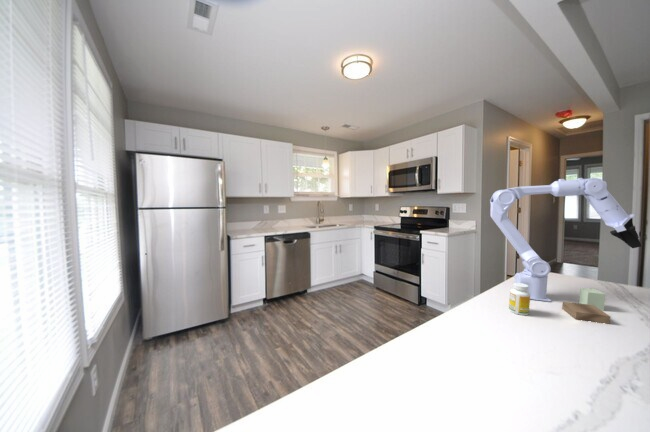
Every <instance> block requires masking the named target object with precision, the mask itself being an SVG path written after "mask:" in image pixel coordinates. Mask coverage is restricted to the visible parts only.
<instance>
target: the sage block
mask: <svg viewBox="0 0 650 432" xmlns="http://www.w3.org/2000/svg"><path fill="white" fill-rule="evenodd" d="M579 291H580V292H579V300H578V301H579V302H578V303H579V304H587V305H594V306H595V307H597V308H598V309H600V310H601V311H603V312H604V311H605V303H606V293H604V292H603V291H600V290H598V289H595V288H594V289H593V288H588V287H587V288H585V287H580V289H579Z"/></svg>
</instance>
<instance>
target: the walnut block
mask: <svg viewBox="0 0 650 432" xmlns="http://www.w3.org/2000/svg"><path fill="white" fill-rule="evenodd" d="M561 304H562V305H561V306H562V307H561V310H563V311H564V312H565V313H566V314H568V315H569V316H570V317H572V318H573V320H575V321H581V320H582V322H588V321H591V322H590V323H596V322H597V324H603V323H605V324H604V325H610V324H611V315H609V314H607V313H606V312H604V311H601V310H600V309H598V308H597V307H595V306H594V305H587V304H579V302H578V303H577V302H570V301H562V303H561Z"/></svg>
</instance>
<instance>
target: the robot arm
mask: <svg viewBox="0 0 650 432" xmlns="http://www.w3.org/2000/svg"><path fill="white" fill-rule="evenodd" d="M607 187H608V184H607V181H605V180H602V179H601V178H597V177H592V178H583V177H578V178H576V179H567V180H566V179H565V178H559V179H558V180H555V181H553V182H552V183H550V184H548V185H547V184H546V185H545V184H544V185H527V186H526V185H525V186H524V185H523V186H516V187H509V188H506V189H498V190H496V191H494V193H493V194H492V196H491V198H490V199H489V203H490V209H489V210H490V218H491V219H492V221H493V222H494V223H495V224H496V226H497V227H498V228H499V230H500V231H501V233H502V234H503V235H504V237H506V238H505V239H506V240H508V242H509V243H510V244H511V246H512V247H513V248H514V250H515V251H516V252H517V254H518V255H519V257H520V259H521V260H522V261H521V262H522V266H523V267H524V268H523V271H522V272H516V273H515V275H514V282H513V283H523V284H526V285H528V290H527V291H528V292H529V293H530V300H535V301H541V302H543V301H544V302H550V303H551V302H552V299H550V298H549V297H547V290H548V277H549V274H550V273H551V271H552V269H551V266H550V264H549V262H548V261H545V260H543V259H542V258H541V257H540V255H539V254H538V253H536V251H535V250H534V249H533V248H532V246H530V244H529V243H528V242H527V240H526V239H525V238H524V237H523V235H522V234H521V232H520V231H519V230H518V228H516V227H517V226H515V225H514V223H513V222H512V221H511V219H509V217H508V213H509V210H510V207H512V205H514V203H515V202H516V200H520V199H521V198H524V197H525V196H530V195H533V196H534V195H544V194H551V195H553V197H556V198H557V197H573V196H576V197H577V196H580V195H581V196H584V198H585V199H586V200H587V202H588V204H590V206H591V207H592V208H593V210H594V212H596V214H598V216H599V218H601V220H602V221H603V222H604V224H605V226H608V227H610V228H614V230H611V231H610V233H609V234H611V236H613V237H616V238H618V239H619V240H621V241H623V242H624V243H625V244H626V245H627V246H628V247H630V248H631V249H635V248H636V249H637V248H640V247H642V243H641V241H640V239H639V238H640V237H639V235H638V232H637V230H636V225H634V222H633V221H634V219H633V218H636V215H635V214H634V213H630V214H628V213H627V212H626V211H625V210H624V208H623V207H622V205H620V204H619V202H618V201H617V200H616V198H615V197H614V196H613V195H612V194H611V192H609V190H608V189H607Z"/></svg>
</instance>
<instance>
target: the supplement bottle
mask: <svg viewBox="0 0 650 432" xmlns="http://www.w3.org/2000/svg"><path fill="white" fill-rule="evenodd" d="M527 290H528V285H526V284H523V283H514V282H513V283H512V288H510V290H509V303H508V310H509V311H510V312H511V313H513V314H515V315H518V316H519V315H520V316H528V315H529V313H530V306H531V305H530V304H531V299H530V293H529V292H528V291H527Z"/></svg>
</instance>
